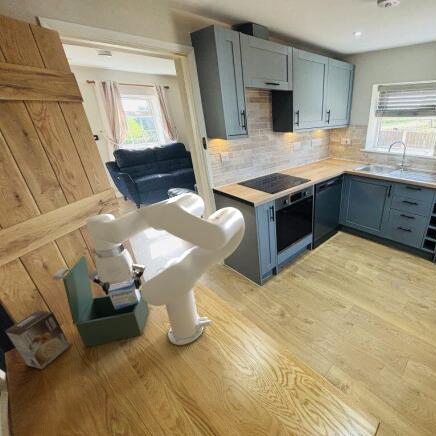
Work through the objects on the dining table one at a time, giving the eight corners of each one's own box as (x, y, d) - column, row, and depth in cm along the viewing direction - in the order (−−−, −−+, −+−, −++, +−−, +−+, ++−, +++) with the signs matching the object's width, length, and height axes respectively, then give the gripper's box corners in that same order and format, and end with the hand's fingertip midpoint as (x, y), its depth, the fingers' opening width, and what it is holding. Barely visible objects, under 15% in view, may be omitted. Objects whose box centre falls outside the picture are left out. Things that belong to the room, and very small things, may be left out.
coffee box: (56, 342, 86) (39, 308, 80) (71, 345, 85) (54, 311, 79) (26, 366, 78) (3, 330, 72) (41, 370, 77) (20, 334, 71)
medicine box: (115, 310, 87) (107, 291, 84) (117, 302, 91) (109, 284, 87) (139, 303, 90) (132, 285, 87) (140, 295, 94) (134, 278, 90)
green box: (148, 309, 102) (143, 289, 98) (141, 334, 90) (134, 313, 86) (100, 318, 97) (92, 297, 92) (85, 347, 85) (75, 324, 80)
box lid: (85, 256, 86) (65, 256, 84) (65, 278, 74) (42, 280, 72) (93, 296, 92) (75, 298, 90) (76, 323, 80) (55, 326, 79)
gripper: (74, 259, 75) (91, 301, 82) (136, 251, 80) (147, 291, 87) (85, 248, 82) (100, 287, 89) (141, 241, 87) (152, 279, 94)
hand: (123, 289), depth 88 cm, fingers open, 9 cm apart
